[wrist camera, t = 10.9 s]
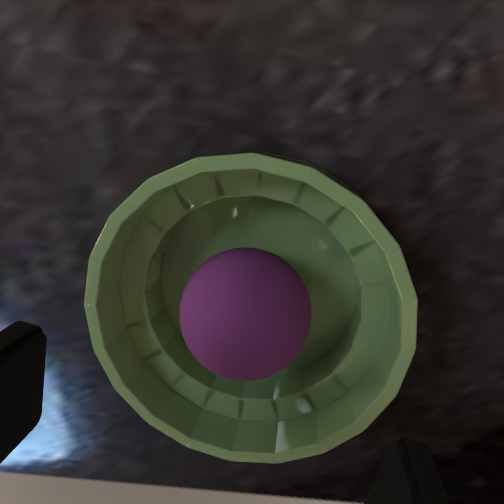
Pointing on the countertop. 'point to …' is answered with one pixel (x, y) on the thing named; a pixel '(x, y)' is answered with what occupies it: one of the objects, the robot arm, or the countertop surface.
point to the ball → (245, 314)
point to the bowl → (293, 252)
